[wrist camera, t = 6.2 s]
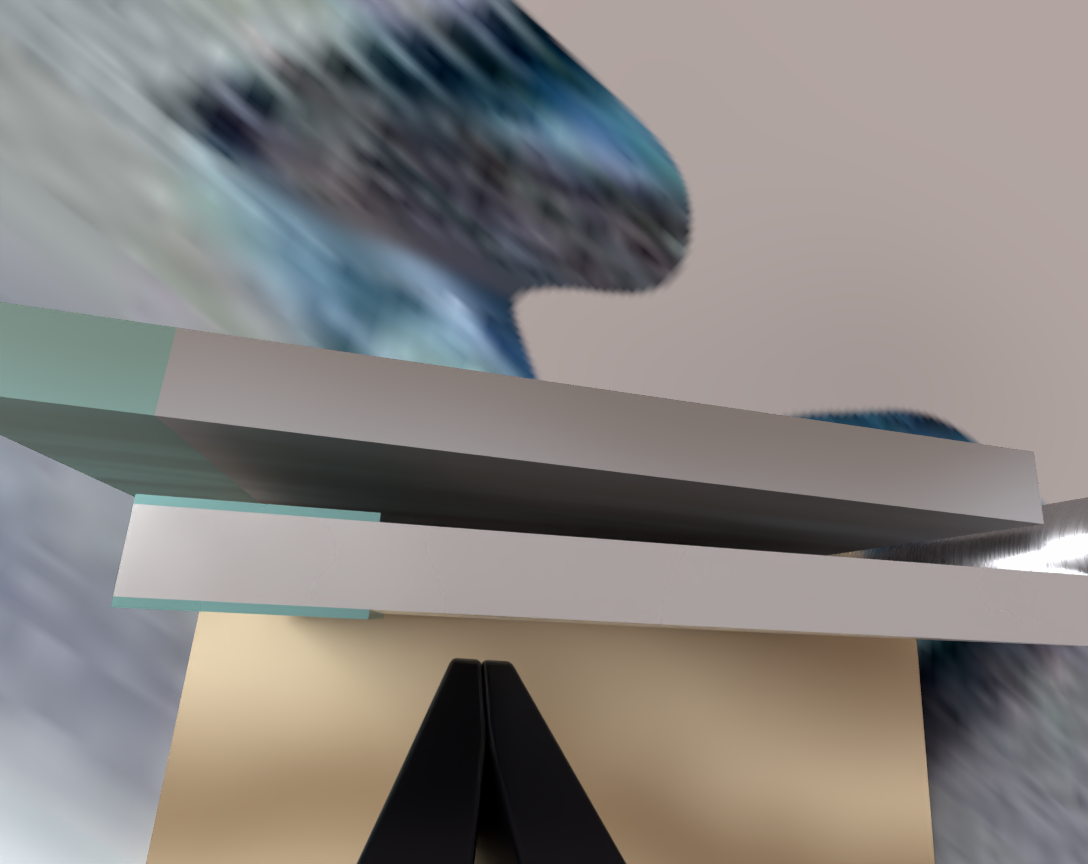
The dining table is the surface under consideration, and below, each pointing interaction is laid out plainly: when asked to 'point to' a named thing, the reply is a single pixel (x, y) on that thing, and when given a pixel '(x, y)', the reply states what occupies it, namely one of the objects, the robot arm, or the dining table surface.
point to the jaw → (604, 576)
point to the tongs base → (531, 646)
